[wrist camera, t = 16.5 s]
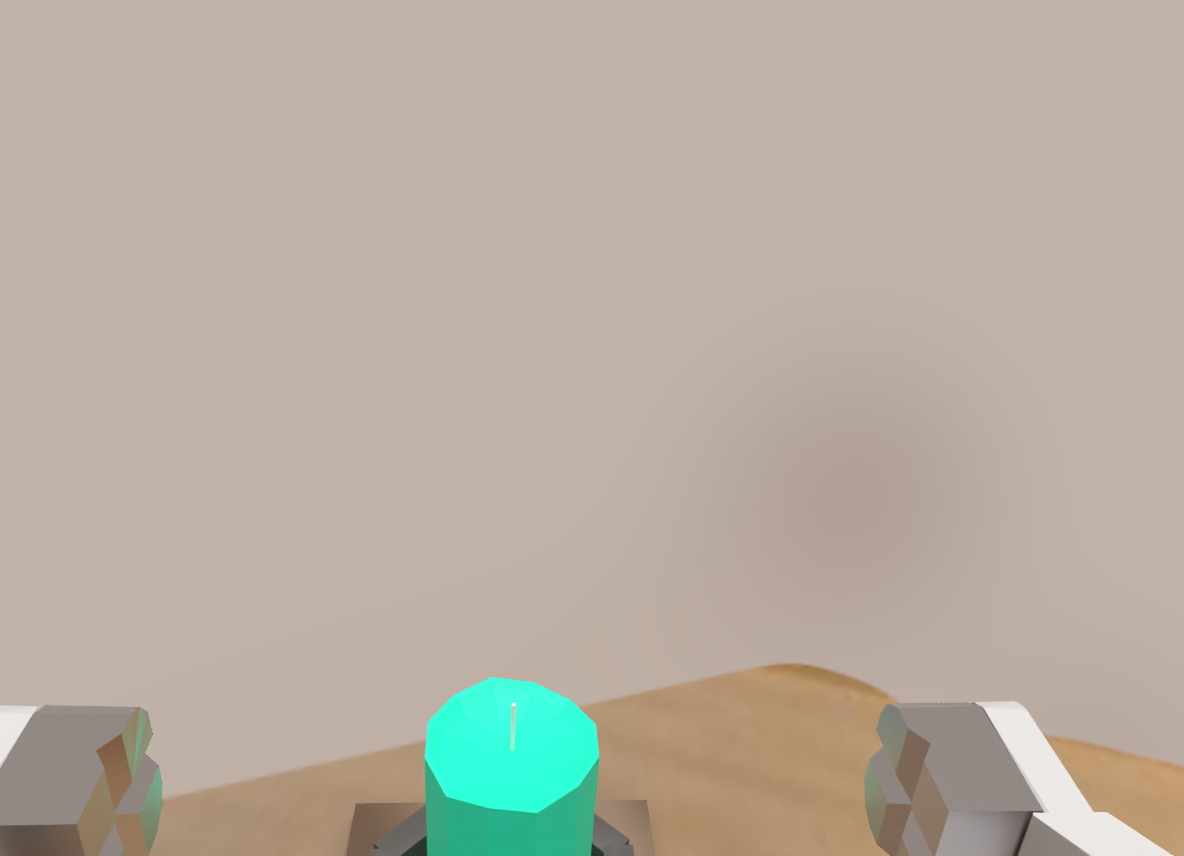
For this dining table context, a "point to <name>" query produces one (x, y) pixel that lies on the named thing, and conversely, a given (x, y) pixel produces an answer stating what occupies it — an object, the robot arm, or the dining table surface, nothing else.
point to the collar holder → (399, 833)
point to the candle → (510, 773)
